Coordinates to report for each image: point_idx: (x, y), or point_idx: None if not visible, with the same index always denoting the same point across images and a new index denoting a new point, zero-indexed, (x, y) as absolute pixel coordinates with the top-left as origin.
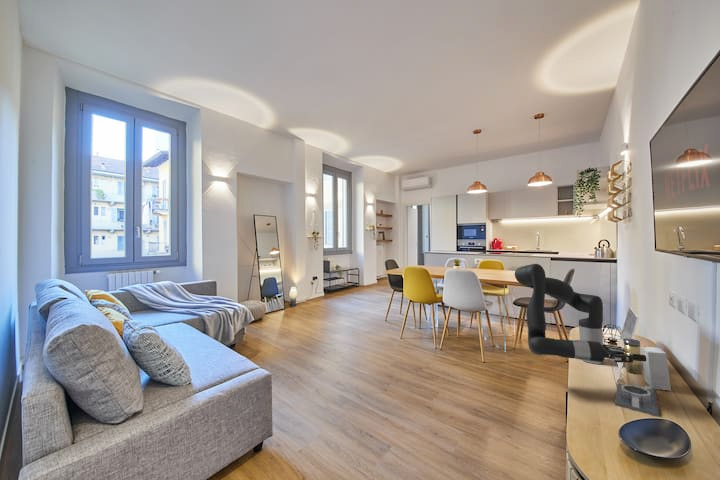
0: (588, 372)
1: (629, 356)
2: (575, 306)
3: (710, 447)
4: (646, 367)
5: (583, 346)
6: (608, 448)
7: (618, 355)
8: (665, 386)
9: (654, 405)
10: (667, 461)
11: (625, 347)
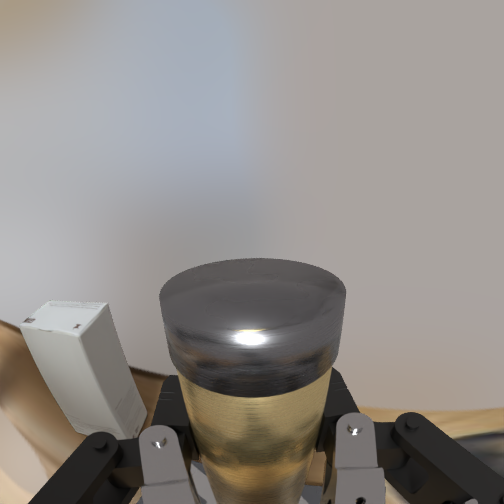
0: None
1: (438, 431)
2: None
3: (462, 413)
4: (81, 398)
5: None
6: None
7: (501, 486)
8: (140, 413)
9: (317, 492)
10: None
11: (282, 421)
